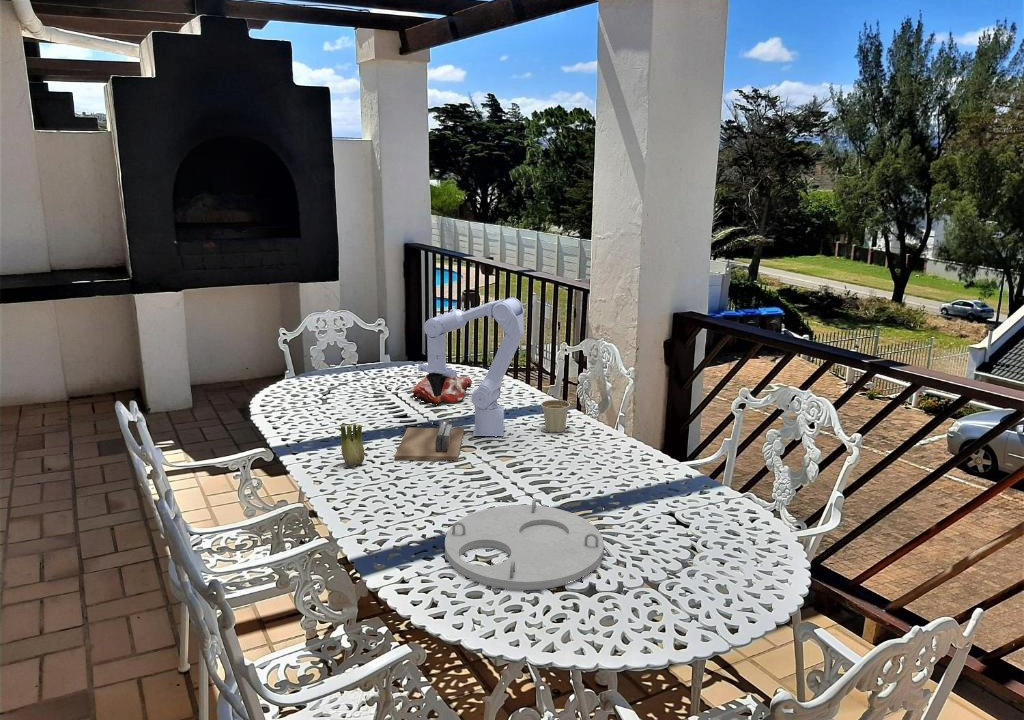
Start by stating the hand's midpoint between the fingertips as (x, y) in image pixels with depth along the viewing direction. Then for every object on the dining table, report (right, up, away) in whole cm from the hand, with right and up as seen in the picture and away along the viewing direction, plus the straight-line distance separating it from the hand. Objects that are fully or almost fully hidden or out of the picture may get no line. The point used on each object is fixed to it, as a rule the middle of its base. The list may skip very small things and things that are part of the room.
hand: (437, 395), depth 235 cm
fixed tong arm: (+5, -13, -17) cm, 22 cm away
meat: (-2, -3, +34) cm, 34 cm away
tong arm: (+3, -13, -15) cm, 20 cm away
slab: (+27, -30, -74) cm, 84 cm away
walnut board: (0, -14, -15) cm, 21 cm away
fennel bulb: (-21, -18, -29) cm, 40 cm away
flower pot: (+38, -11, 0) cm, 40 cm away
